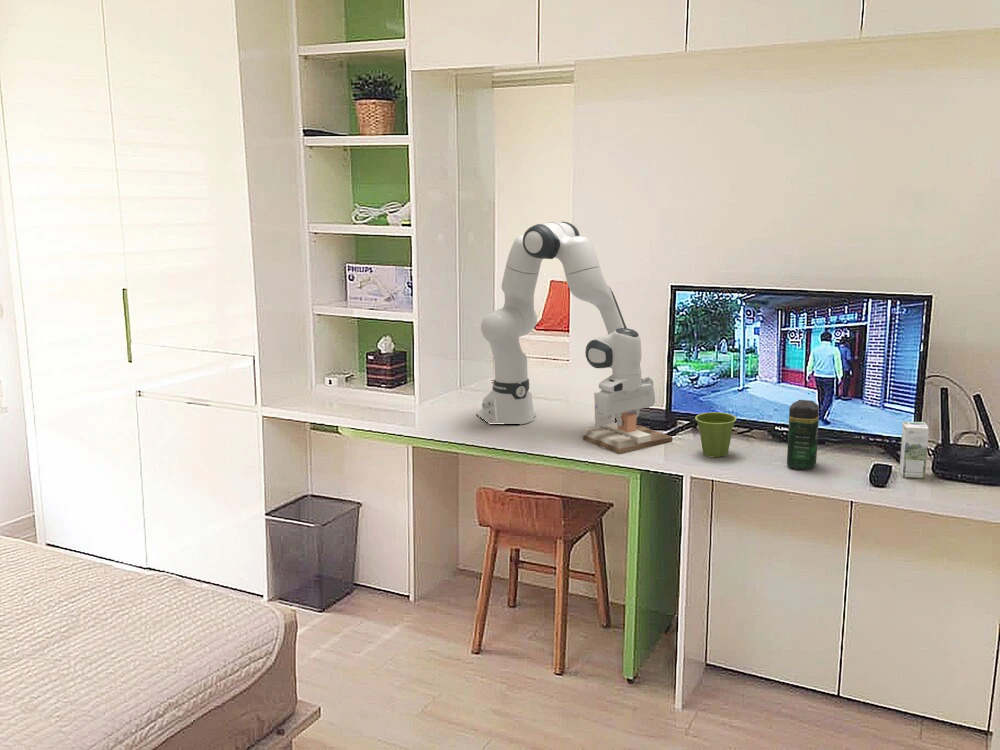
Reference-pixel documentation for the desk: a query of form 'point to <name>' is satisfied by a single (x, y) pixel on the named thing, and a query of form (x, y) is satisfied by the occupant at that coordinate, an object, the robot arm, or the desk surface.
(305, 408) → the desk surface
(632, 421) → the white bar with block
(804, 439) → the coffee jar
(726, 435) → the plant pot
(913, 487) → the desk surface
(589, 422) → the desk surface
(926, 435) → the syrup box
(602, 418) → the ink cartridge box
